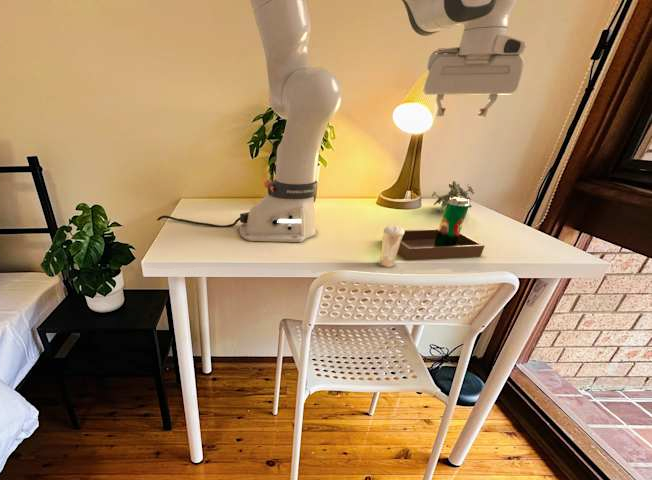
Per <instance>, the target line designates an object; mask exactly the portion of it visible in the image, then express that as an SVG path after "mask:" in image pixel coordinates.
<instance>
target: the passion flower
mask: <svg viewBox="0 0 652 480" xmlns="http://www.w3.org/2000/svg"><path fill="white" fill-rule="evenodd" d="M466 186H467V188H468V189H467V190H464V188H462V186H461V185H460V183H458V182H456V181H455V180H453V181H452V183H451V182H449V183H448V187H449V189H450V191H448V193H447V194H444V195H441V196H439V195H438V194H437V192H436V191H433V193H432V195H431V198H434V196H436V197H438V198H437V199H436V200H435V202H434V203H433V206H436V205H437V204H438V205H441V206H440V208H439V209H438V212H440V211H441V210H442V209H443V208H445V206H446V203H447V202H448V201H449V199H450V198H452V197H460V198H465V199H468V200H469V208H468V209H470V208H472V205H471V204H472V198H471V197H470V196H468V195H469V194H470V193H471V195H475V191H474V189H473V186H471V185H470V184H466ZM469 192H470V193H469ZM441 202H442V203H441Z"/></svg>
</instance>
